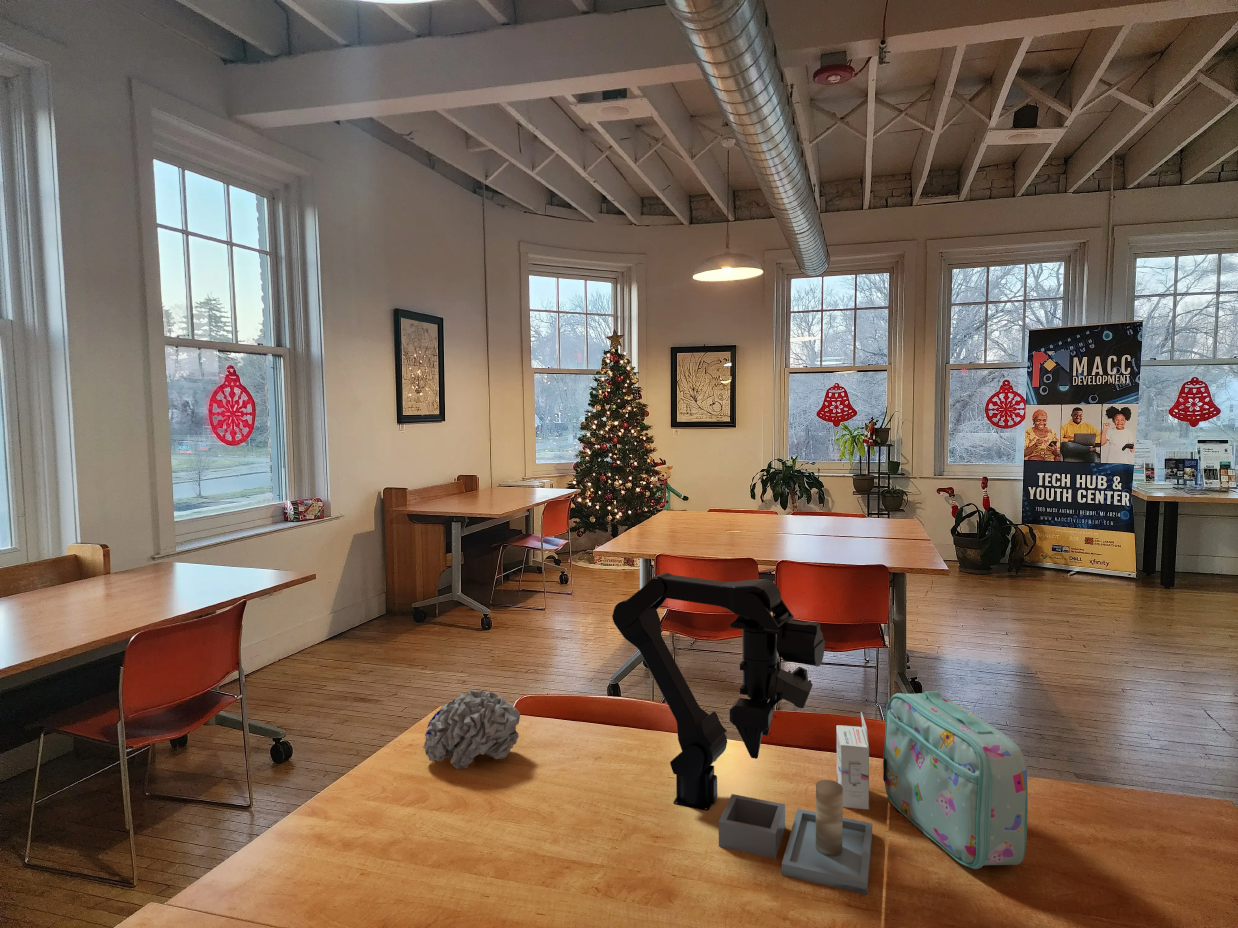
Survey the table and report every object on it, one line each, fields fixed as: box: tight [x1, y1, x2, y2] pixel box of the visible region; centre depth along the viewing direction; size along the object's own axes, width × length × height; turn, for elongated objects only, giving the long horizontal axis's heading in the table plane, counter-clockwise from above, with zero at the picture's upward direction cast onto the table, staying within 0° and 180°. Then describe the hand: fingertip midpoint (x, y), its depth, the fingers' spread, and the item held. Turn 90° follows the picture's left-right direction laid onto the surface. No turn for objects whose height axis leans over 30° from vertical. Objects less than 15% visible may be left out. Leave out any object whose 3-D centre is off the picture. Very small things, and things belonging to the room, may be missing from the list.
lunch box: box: [882, 690, 1029, 870], centre depth 115 cm, size 27×10×21 cm, turn 12°
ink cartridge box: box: [835, 711, 870, 810], centre depth 125 cm, size 9×5×15 cm, turn 169°
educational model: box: [422, 689, 521, 770], centre depth 142 cm, size 14×20×15 cm
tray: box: [781, 808, 873, 896], centre depth 109 cm, size 12×16×2 cm
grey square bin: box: [718, 793, 786, 860], centre depth 113 cm, size 9×9×4 cm
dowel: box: [815, 779, 844, 857], centre depth 108 cm, size 4×4×10 cm
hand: (759, 745), depth 118 cm, fingers open, 9 cm apart
